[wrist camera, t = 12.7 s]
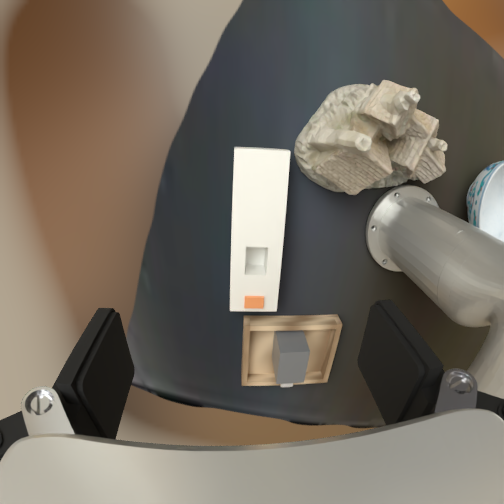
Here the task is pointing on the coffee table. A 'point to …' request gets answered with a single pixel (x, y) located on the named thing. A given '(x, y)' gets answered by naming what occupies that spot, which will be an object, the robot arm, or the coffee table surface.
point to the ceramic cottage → (370, 140)
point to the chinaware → (488, 201)
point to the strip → (257, 227)
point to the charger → (290, 357)
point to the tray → (261, 344)
